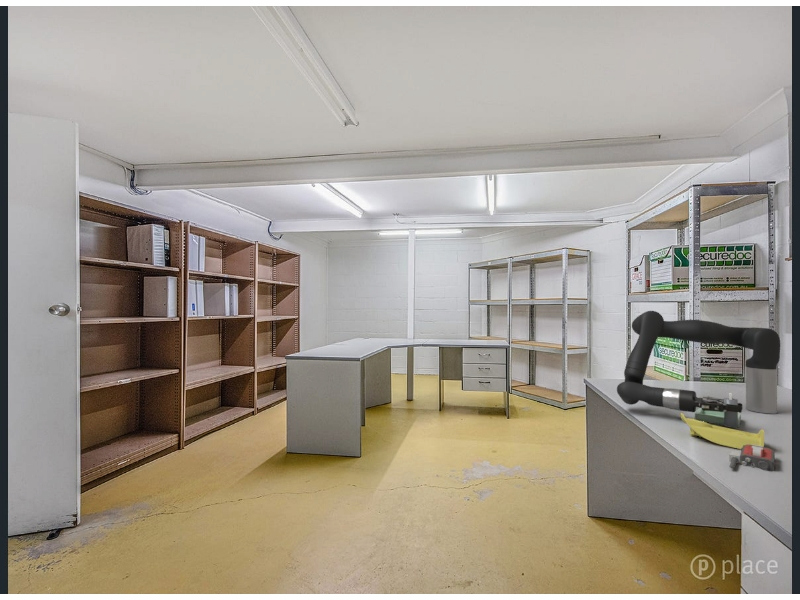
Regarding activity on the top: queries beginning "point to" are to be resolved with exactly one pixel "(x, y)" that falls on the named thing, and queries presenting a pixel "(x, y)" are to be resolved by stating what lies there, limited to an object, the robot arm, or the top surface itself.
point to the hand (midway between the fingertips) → (741, 408)
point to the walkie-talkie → (753, 457)
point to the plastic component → (723, 434)
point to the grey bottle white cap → (731, 413)
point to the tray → (712, 417)
